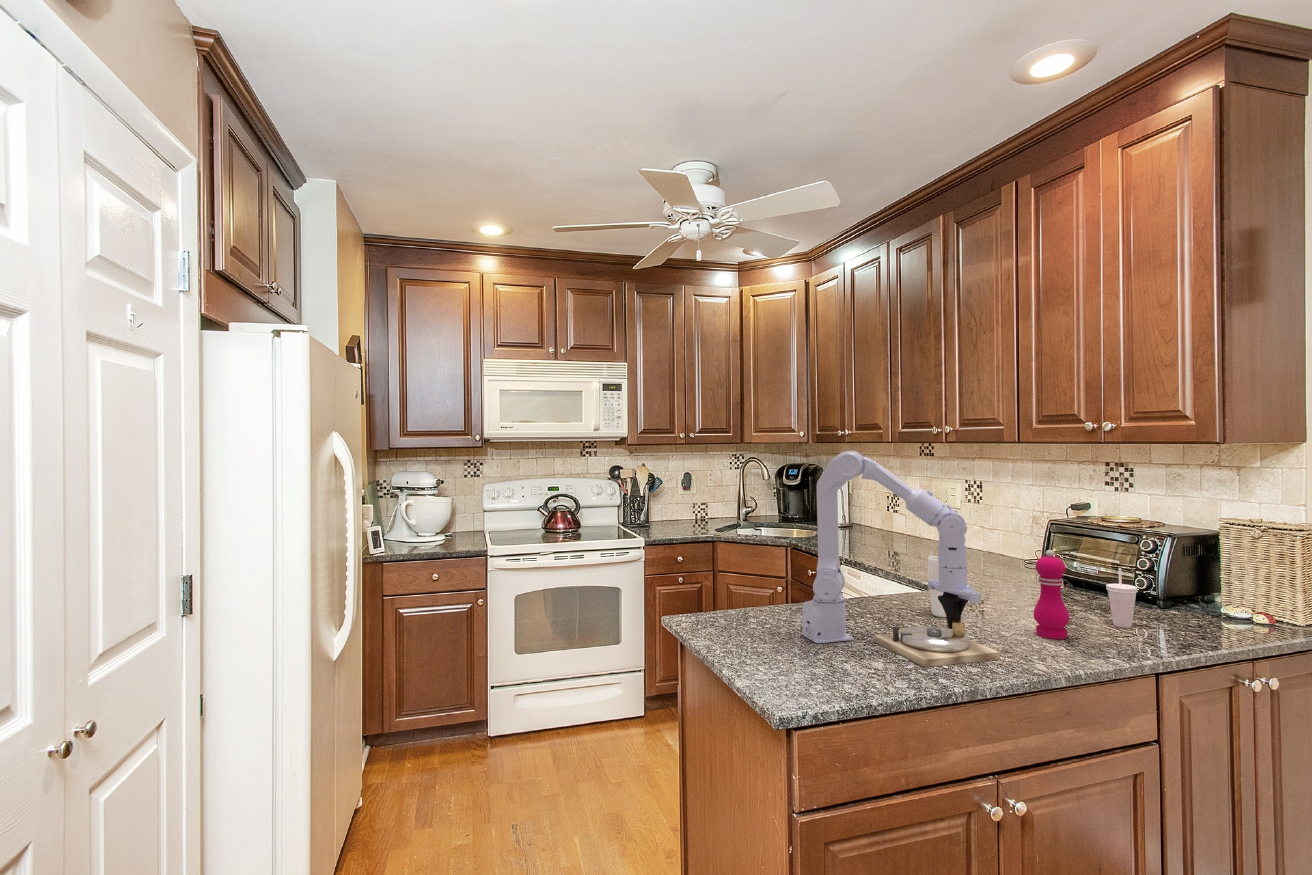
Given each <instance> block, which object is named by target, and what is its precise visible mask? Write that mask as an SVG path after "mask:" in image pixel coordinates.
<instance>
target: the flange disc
mask: <svg viewBox="0 0 1312 875" xmlns="http://www.w3.org/2000/svg"><path fill="white" fill-rule="evenodd" d="M899 631H900V632H899V633H900V640H901V642H903V643H904V644H906V645H908V646H911V647H914V648H918V649H922V650H928V651H937V652H956V651H963V650H966V649H968V648H969V647H970V640H971V639H970V636H969V635H968V634H966V633H965V621H952V629H950V628H947V627H946V628H945V627H939V626H938V627H937V626H924V625H923V626H909V627H905V628H902V629H901V630H899Z"/></svg>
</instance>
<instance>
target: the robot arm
mask: <svg viewBox="0 0 1312 875" xmlns="http://www.w3.org/2000/svg"><path fill="white" fill-rule="evenodd" d="M861 474H862V475H861ZM860 475H861V479H862V480H870V481H875V482H876V483H879V485H881V486H882V487H884V488H886V489H887V490H889V491H890V492H891V493H893V494H894V495H896V496H897V497H899V498H901V499H902V500H904V502H905V506H906V511H909V512H910V513H912V514H913V515H914V516H916V517H917V518H918V519H920V520H921V521H923V522H924V523H925V524H927V525H928V526H930V527H935V528H936V529H937V532H938V545H937V556H938V574H939V581H938V580H928V579H927V589H928V590H929V589H931V590H933V589H934V590H937V591H940V592H943V595H941V596H938V600H939V601H940V603H941V605H942V607H943V609H944V611H945V614H946V617H945V619H946V624H947V629H951V630H952V621H961V620H962V614H963V611H964V609H965V608H966V605H967V604H968V602H969V603H973V604H974V603H981V592H978V591H976V590H974V589H973V588H972V586H971V585H969V584H968V572H967V571H968V570H967V569H968V568H967V566H968V565H967V545H966V544H965V543H966V537H965V535H966V533H967V531H968V526H967V524H966V521H965V519H964V518H963V516H962V515H961V514H960V513H959V512H958V511H957V510H954V509H953V507H952V506H951V504H945V503H944V502H942V501H940V500H939V499H938V498H936V497H934V493H933V492H932V491H931V490H930V489H928V490H927V491H926V490H925V489H924V488H919V489H913V488H912V487H911V486H909V485H908V484H906V483H905V482H904V481H903V480H901V479H900V478H899V477H897V476H896V475H895V474H893V473H892V472H891V471H889V470H888V469H886V468H885V467H884V466H883V465H881V464H879V463H878V462H877V461H874V460H873V459H871V458H869V457H866V456H863V455H862V454H861V453H860V452H858V451H856V450H848V451H847V450H846V451H845V450H844V451H842V452H840V453H839V454H837V455H836V456H835V457H833V458H832V459H831V460H830V461H829V463H828V464H827V466H826V468H825V469H824V471H823V472H822V474H821V475H820V477H819V478H818V480H817V482H816V512H817V513H816V517H817V518H816V519H817V520H816V521H817V523H816V524H817V558H818V559H817V565H816V576H815V579H814V580H813V584H812V590H813V593H814V595H813V599H811V600H807V601H805V602H804V603H803V605H802V609H801V610H802V617H801V618H802V631H801V633H800V635H802V636H804V637H805V638H807V639H809V640H810V641H811V642H813V643H815V644H826V643H838V642H847V641H853V640H854V637H853V636H850V635H848V634H847V630H846V627H847V625H846V624H847V623H846V621H847V620H846V597H845V596H844V595H843V593H842V590H843V588H844V586H845V581H846V580H845V576H844V574H843V573H842V570H841V560H840V556H839V555H840V553H839V552H840V548H839V546H840V545H839V513H838V512H839V511H838V510H839V508H838V507H839V504H838V491H839V490H840V489H841V488H842V487H844V485H845V484H847V482H848V481H851V480H853V479H855V478H857V477H859V476H860Z"/></svg>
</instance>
